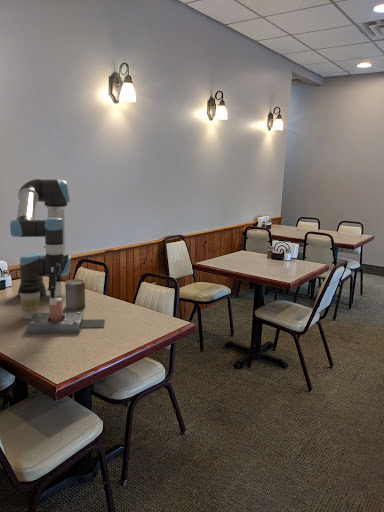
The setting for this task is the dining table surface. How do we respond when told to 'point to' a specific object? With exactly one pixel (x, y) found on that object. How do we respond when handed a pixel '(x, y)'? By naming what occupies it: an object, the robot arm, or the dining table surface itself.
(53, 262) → the robot arm
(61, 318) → the pink round peg
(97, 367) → the dining table surface
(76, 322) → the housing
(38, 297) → the coffee cup
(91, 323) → the mat
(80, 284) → the pillar candle
